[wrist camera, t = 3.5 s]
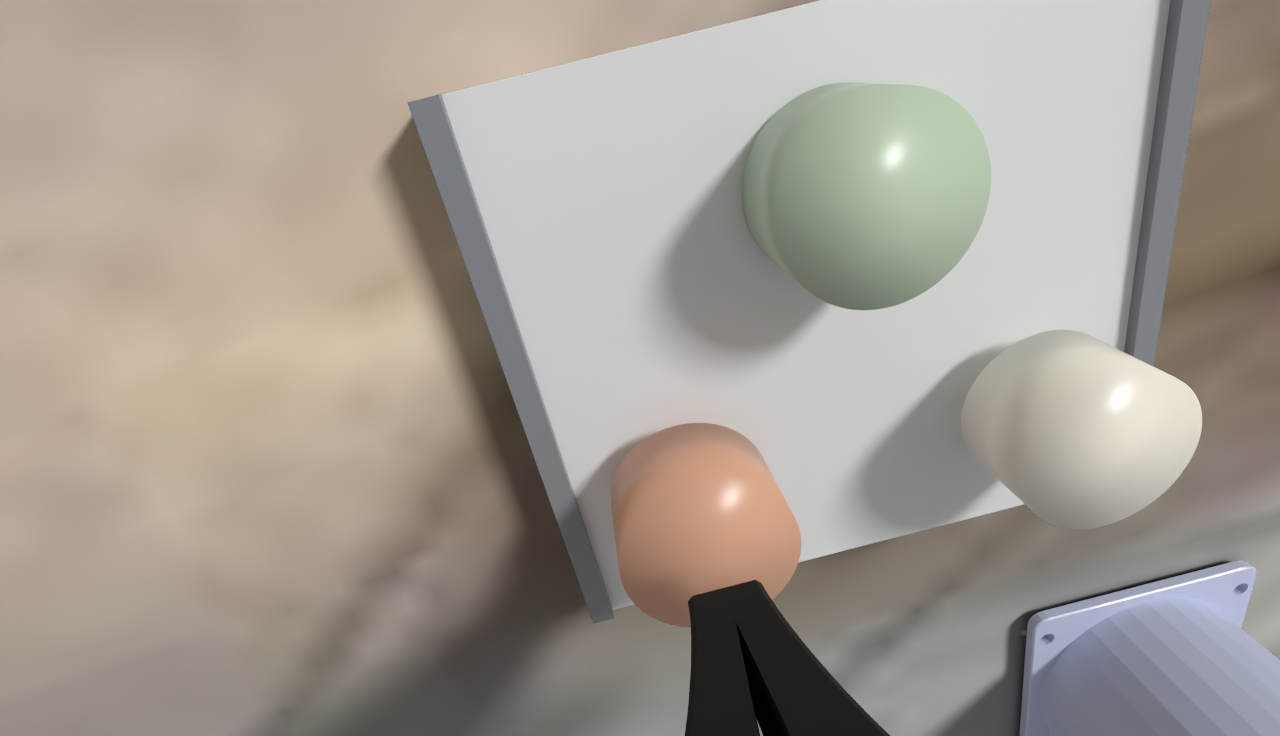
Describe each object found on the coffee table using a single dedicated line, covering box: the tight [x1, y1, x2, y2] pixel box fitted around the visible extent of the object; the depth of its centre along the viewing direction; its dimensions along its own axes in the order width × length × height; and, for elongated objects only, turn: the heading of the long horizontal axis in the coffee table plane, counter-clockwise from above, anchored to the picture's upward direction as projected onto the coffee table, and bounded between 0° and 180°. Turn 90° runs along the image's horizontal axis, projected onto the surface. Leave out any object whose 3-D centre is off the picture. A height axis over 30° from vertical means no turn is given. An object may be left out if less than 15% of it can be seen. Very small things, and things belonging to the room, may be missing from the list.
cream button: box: [961, 330, 1202, 529], centre depth 15 cm, size 4×4×2 cm
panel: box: [408, 0, 1211, 623], centre depth 16 cm, size 14×16×2 cm
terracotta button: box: [611, 423, 801, 627], centre depth 15 cm, size 4×4×2 cm
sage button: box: [742, 83, 991, 310], centre depth 13 cm, size 4×4×2 cm
